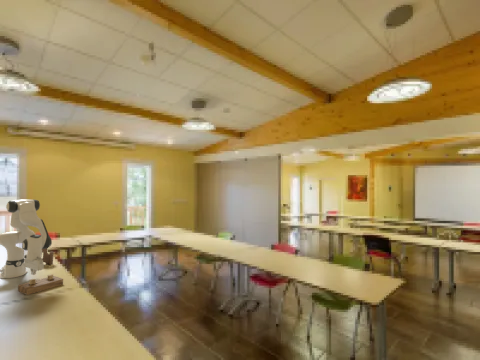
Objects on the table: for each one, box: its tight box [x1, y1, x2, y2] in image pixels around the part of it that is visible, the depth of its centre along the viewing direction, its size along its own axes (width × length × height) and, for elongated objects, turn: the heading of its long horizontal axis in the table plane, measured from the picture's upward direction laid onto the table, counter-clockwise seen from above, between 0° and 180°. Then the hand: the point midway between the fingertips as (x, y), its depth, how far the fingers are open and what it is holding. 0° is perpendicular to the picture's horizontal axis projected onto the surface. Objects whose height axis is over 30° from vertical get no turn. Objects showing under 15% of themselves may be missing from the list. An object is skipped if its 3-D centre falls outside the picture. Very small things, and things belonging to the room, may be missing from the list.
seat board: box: [17, 275, 64, 296], centre depth 197 cm, size 14×24×4 cm, turn 154°
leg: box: [29, 278, 37, 286], centre depth 191 cm, size 4×4×8 cm
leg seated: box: [47, 274, 54, 281], centre depth 202 cm, size 4×4×8 cm
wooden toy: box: [41, 248, 54, 266], centre depth 252 cm, size 16×7×25 cm, turn 129°
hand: (33, 274), depth 192 cm, fingers closed
